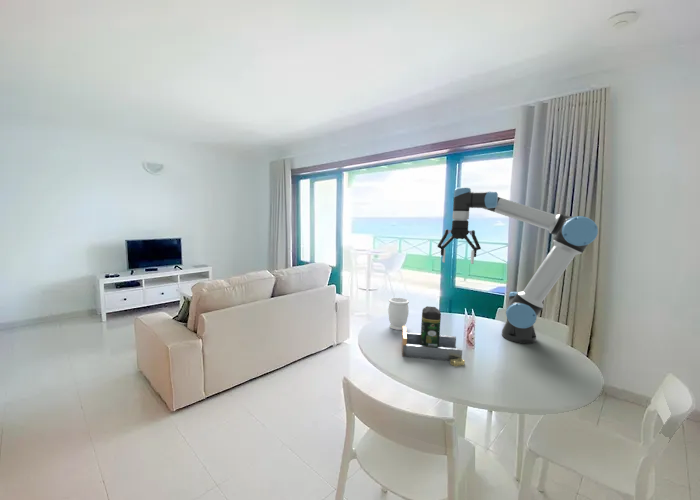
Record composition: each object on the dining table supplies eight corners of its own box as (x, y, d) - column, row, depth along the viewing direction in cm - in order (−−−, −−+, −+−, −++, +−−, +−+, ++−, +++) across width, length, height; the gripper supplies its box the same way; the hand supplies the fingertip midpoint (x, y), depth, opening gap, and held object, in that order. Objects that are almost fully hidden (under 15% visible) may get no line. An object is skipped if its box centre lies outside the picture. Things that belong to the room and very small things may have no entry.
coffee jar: (419, 343, 141) (421, 304, 139) (437, 345, 140) (439, 305, 138) (420, 353, 131) (423, 310, 129) (439, 354, 130) (442, 312, 128)
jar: (410, 326, 166) (411, 299, 164) (403, 332, 157) (404, 304, 155) (392, 322, 171) (393, 296, 170) (384, 328, 162) (385, 300, 161)
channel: (454, 346, 141) (455, 330, 140) (461, 361, 126) (462, 343, 125) (401, 342, 145) (402, 325, 144) (402, 356, 130) (403, 338, 129)
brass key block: (460, 362, 126) (460, 358, 126) (464, 365, 124) (464, 360, 124) (450, 364, 125) (450, 359, 124) (454, 367, 122) (454, 362, 122)
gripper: (485, 220, 152) (481, 262, 155) (433, 219, 156) (431, 260, 158) (489, 220, 145) (486, 265, 147) (435, 219, 149) (432, 262, 151)
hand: (457, 262), depth 153 cm, fingers open, 13 cm apart
